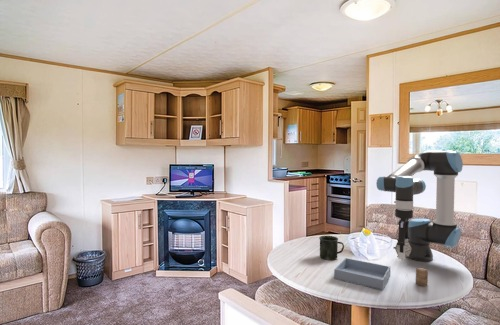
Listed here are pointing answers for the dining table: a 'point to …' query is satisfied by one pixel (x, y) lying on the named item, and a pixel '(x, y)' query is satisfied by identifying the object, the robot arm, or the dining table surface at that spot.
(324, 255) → the mug
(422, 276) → the walnut cylinder
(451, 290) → the dining table surface
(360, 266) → the tote
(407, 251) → the game die
